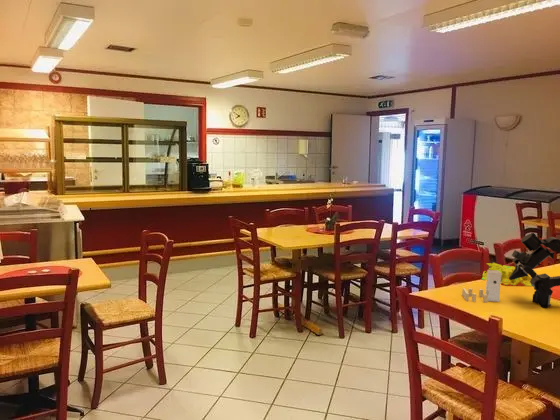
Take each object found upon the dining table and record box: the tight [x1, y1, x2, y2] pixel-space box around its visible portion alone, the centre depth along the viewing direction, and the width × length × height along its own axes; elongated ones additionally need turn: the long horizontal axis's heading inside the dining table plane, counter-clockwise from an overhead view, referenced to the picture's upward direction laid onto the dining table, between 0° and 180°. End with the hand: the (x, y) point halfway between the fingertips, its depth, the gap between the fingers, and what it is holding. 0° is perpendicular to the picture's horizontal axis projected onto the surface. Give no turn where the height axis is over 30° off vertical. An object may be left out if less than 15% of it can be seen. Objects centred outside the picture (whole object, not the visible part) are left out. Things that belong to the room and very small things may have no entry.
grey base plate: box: [461, 287, 488, 304], centre depth 225 cm, size 17×12×4 cm
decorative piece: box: [481, 262, 533, 287], centre depth 264 cm, size 26×8×30 cm
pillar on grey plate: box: [485, 269, 501, 303], centre depth 223 cm, size 5×5×14 cm
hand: (509, 279), depth 221 cm, fingers closed
